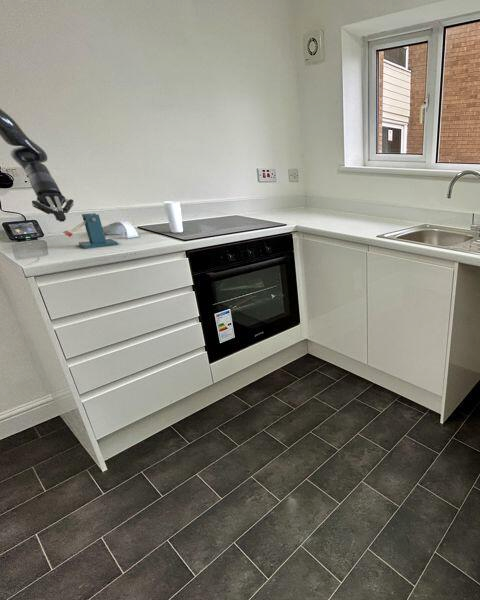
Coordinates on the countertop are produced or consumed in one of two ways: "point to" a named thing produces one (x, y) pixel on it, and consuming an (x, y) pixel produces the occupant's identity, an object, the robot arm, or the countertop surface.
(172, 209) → the drinking glass
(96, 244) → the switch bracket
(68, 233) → the switch lever
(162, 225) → the countertop surface
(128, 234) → the white rounded block
